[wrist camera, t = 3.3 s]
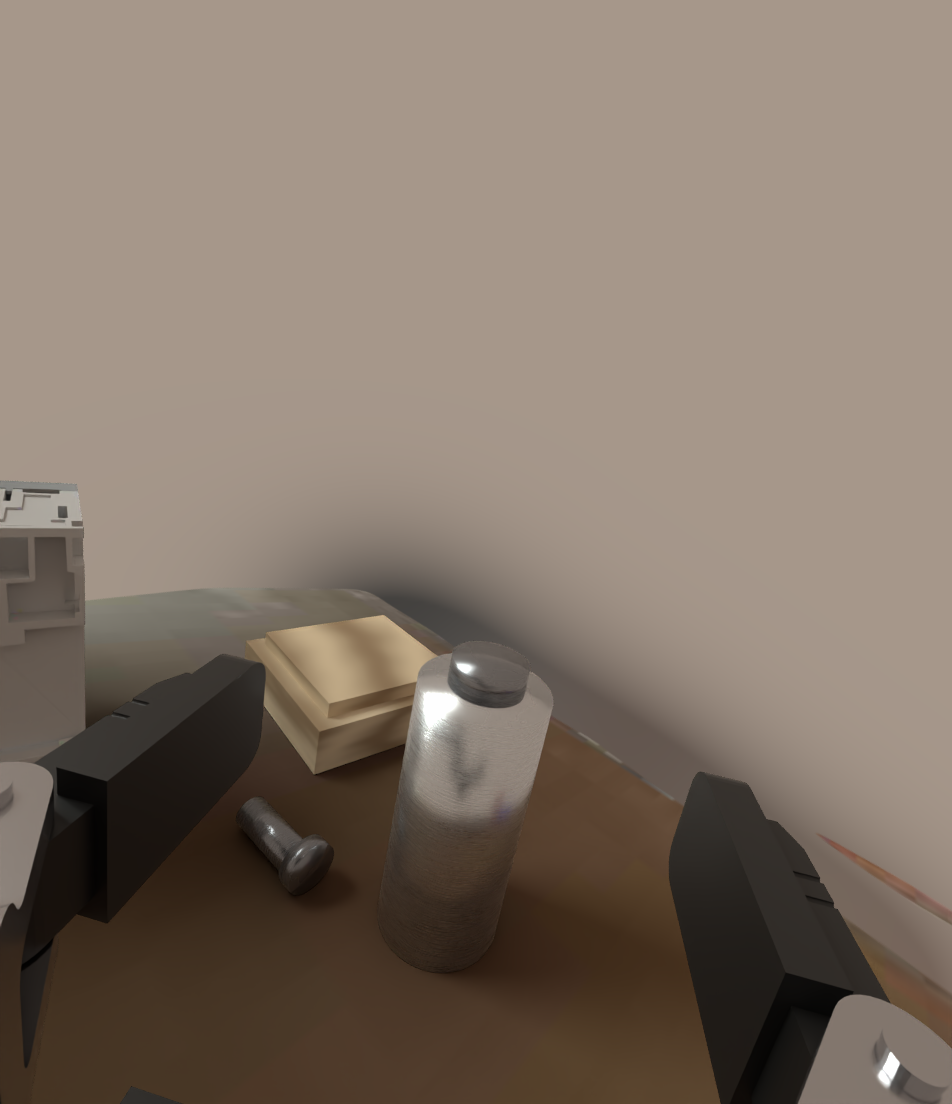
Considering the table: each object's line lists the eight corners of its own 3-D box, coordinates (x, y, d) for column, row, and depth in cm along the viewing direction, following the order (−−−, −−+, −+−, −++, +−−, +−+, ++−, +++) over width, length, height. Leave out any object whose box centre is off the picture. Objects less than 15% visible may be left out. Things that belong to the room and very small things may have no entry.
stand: (314, 774, 32) (321, 716, 31) (243, 677, 41) (247, 628, 40) (466, 722, 40) (476, 675, 39) (381, 650, 49) (387, 609, 48)
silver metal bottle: (423, 1000, 22) (486, 713, 18) (354, 893, 26) (395, 639, 22) (520, 928, 25) (588, 679, 22) (447, 845, 29) (494, 621, 26)
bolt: (330, 875, 26) (336, 835, 26) (286, 905, 24) (291, 863, 24) (271, 812, 29) (274, 775, 28) (227, 835, 27) (230, 795, 27)
